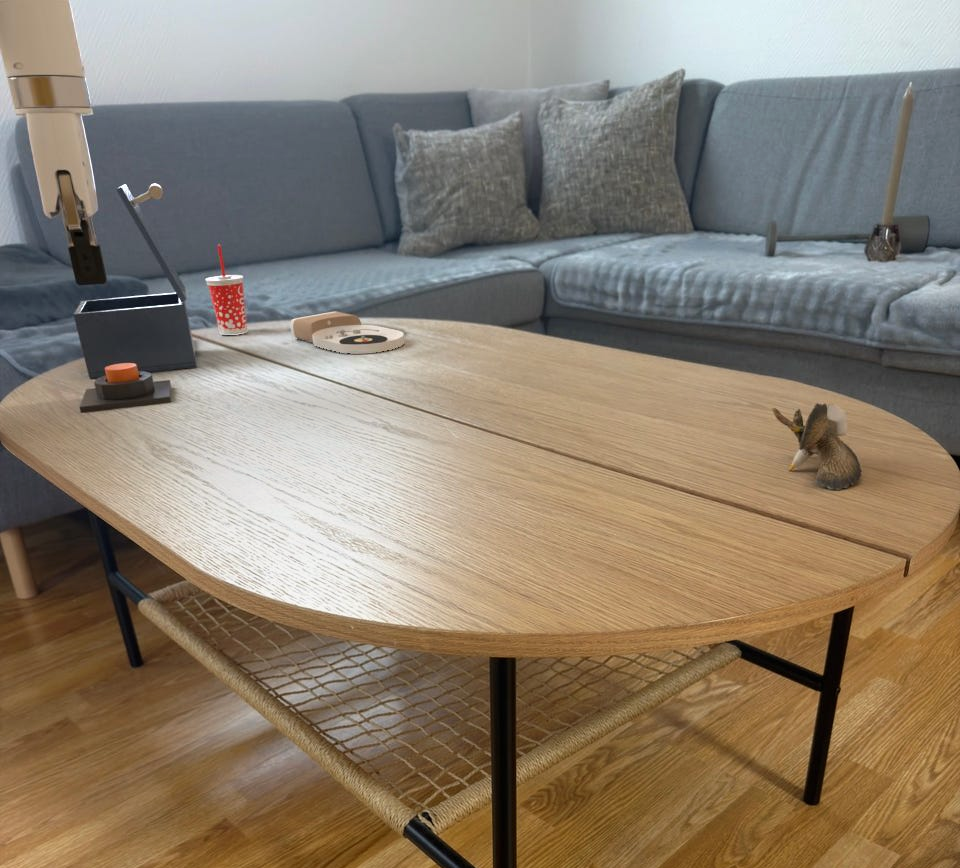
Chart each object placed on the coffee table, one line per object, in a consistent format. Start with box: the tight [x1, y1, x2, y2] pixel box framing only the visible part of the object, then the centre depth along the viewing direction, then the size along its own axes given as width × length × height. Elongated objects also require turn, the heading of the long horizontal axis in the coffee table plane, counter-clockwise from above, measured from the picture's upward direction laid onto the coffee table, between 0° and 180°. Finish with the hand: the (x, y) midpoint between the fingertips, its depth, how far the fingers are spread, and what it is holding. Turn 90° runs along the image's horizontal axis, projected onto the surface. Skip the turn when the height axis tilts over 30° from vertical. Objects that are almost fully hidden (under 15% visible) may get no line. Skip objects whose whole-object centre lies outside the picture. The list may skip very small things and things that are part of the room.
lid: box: [115, 183, 187, 302], centre depth 123 cm, size 16×13×5 cm
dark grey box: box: [72, 292, 198, 380], centre depth 127 cm, size 15×13×9 cm
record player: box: [290, 310, 405, 355], centre depth 136 cm, size 12×3×20 cm
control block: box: [79, 371, 172, 414], centre depth 105 cm, size 10×9×4 cm
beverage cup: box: [205, 244, 248, 335], centre depth 144 cm, size 6×6×14 cm
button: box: [105, 363, 139, 382], centre depth 104 cm, size 4×4×2 cm
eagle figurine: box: [771, 402, 862, 491], centre depth 76 cm, size 8×7×9 cm
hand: (92, 283), depth 99 cm, fingers closed
